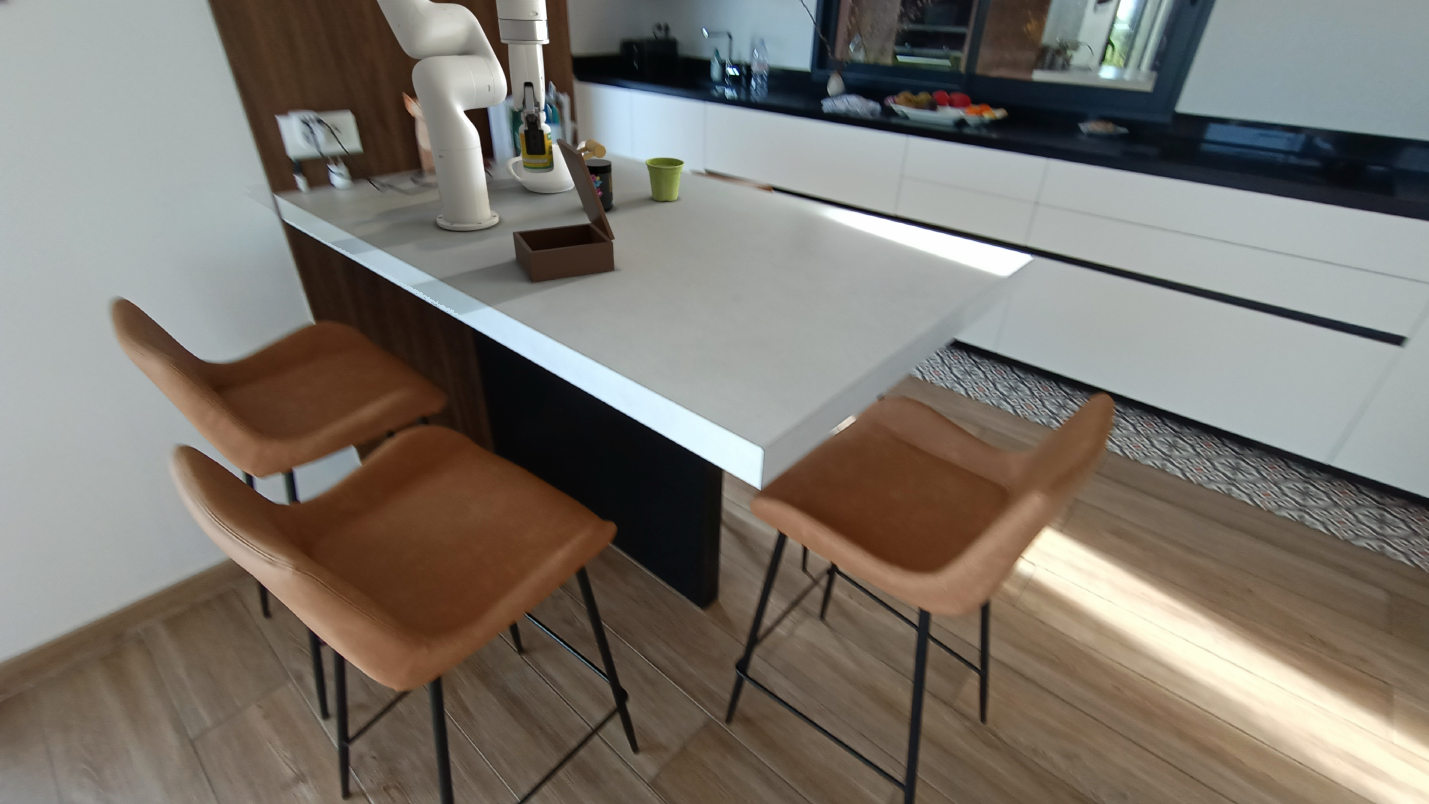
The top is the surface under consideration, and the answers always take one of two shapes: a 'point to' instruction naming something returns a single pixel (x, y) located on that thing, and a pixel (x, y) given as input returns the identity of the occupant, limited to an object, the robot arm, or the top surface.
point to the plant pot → (664, 177)
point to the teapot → (544, 174)
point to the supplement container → (602, 180)
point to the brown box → (563, 251)
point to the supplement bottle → (537, 161)
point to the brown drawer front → (586, 181)
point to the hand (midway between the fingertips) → (536, 149)
